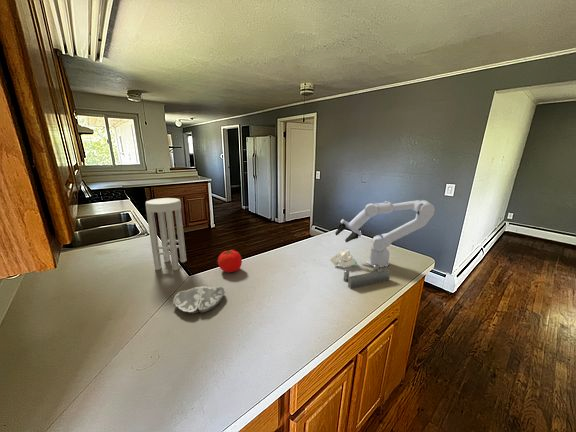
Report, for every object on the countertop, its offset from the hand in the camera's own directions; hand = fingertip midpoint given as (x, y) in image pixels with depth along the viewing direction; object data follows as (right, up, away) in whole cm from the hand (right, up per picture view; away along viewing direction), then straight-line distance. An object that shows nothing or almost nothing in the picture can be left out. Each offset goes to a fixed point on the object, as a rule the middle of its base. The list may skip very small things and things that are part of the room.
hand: (340, 237), depth 134 cm
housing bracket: (+7, -19, -19) cm, 27 cm away
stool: (-92, -14, -6) cm, 93 cm away
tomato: (-59, -16, -11) cm, 62 cm away
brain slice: (-65, -23, -38) cm, 79 cm away
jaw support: (+1, -15, -3) cm, 15 cm away
